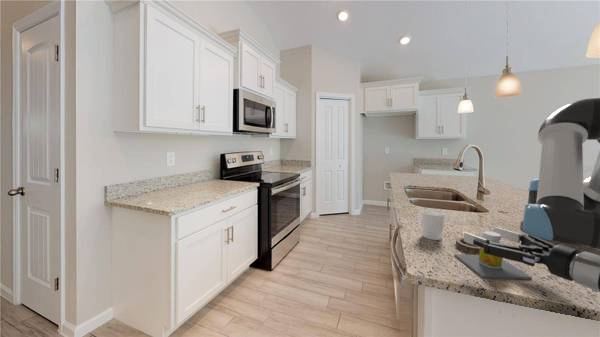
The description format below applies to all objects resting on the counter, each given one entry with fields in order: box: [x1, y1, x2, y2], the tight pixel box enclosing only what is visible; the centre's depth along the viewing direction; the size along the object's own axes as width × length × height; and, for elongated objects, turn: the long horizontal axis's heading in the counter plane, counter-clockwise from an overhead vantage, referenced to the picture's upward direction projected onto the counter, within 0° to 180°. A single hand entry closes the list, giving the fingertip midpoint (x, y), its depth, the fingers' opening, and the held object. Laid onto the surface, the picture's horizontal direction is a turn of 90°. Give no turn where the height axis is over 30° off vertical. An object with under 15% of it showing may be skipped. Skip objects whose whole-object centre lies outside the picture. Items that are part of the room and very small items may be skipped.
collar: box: [455, 237, 480, 255], centre depth 84 cm, size 9×9×2 cm
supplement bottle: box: [478, 230, 504, 269], centre depth 71 cm, size 5×5×10 cm
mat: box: [454, 253, 533, 280], centre depth 71 cm, size 13×13×1 cm
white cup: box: [421, 209, 446, 241], centre depth 94 cm, size 8×8×10 cm
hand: (480, 233), depth 74 cm, fingers open, 13 cm apart
